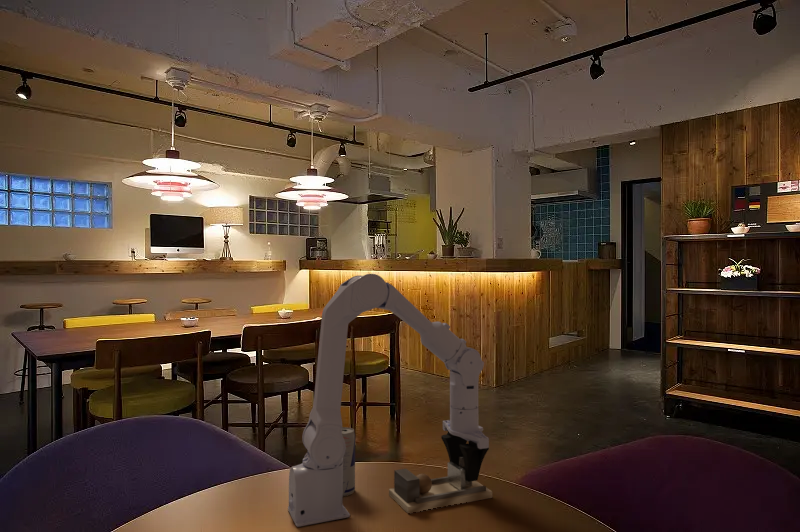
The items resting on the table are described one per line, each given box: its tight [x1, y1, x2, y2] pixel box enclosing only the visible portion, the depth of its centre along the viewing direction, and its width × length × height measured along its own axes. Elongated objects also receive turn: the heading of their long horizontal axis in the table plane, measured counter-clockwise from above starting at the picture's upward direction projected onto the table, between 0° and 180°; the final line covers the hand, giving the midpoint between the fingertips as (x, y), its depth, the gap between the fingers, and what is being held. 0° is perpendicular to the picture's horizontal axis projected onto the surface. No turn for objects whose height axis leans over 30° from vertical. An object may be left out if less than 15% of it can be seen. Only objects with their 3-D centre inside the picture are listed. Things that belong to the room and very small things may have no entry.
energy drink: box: [342, 426, 356, 497], centre depth 98 cm, size 5×5×12 cm
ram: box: [447, 455, 472, 490], centre depth 98 cm, size 4×5×5 cm
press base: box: [388, 468, 493, 514], centre depth 96 cm, size 18×9×5 cm, turn 114°
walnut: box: [415, 473, 432, 494], centre depth 94 cm, size 4×4×4 cm
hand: (464, 475), depth 98 cm, fingers closed on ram, 5 cm apart
